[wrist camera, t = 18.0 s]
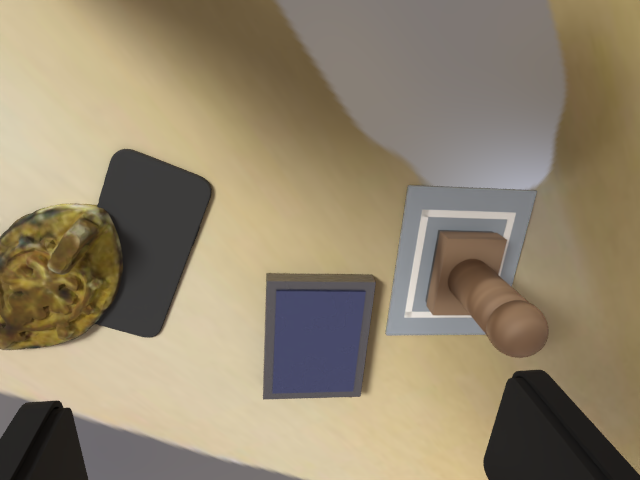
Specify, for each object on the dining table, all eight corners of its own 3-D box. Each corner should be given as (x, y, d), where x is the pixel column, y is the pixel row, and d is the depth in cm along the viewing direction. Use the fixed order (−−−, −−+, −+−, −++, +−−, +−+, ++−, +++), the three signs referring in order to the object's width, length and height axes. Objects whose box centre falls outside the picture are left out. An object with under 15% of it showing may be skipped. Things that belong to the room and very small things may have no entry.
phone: (65, 315, 35) (113, 144, 30) (69, 310, 35) (117, 141, 31) (157, 341, 37) (216, 183, 32) (159, 335, 37) (217, 180, 33)
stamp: (437, 228, 36) (508, 296, 25) (493, 230, 36) (585, 296, 26) (423, 302, 38) (483, 390, 28) (476, 302, 39) (554, 388, 28)
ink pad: (266, 273, 36) (266, 282, 34) (371, 274, 37) (376, 283, 35) (263, 388, 40) (263, 400, 39) (357, 386, 41) (360, 398, 40)
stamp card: (407, 185, 34) (409, 186, 34) (534, 190, 36) (537, 191, 35) (385, 333, 39) (386, 335, 39) (497, 332, 41) (499, 334, 40)
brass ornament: (69, 358, 38) (158, 231, 34) (50, 399, 34) (149, 260, 30) (-49, 314, 34) (38, 166, 30) (-86, 355, 30) (8, 188, 26)
